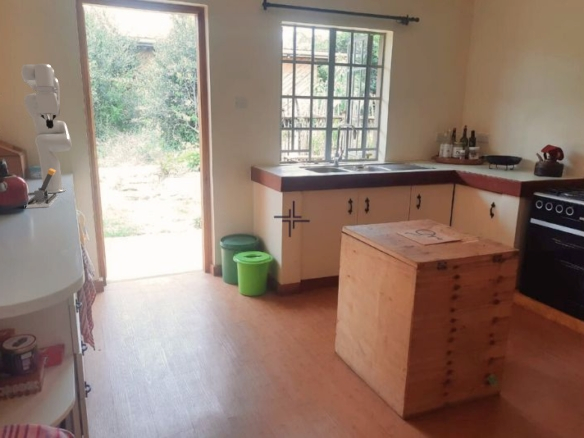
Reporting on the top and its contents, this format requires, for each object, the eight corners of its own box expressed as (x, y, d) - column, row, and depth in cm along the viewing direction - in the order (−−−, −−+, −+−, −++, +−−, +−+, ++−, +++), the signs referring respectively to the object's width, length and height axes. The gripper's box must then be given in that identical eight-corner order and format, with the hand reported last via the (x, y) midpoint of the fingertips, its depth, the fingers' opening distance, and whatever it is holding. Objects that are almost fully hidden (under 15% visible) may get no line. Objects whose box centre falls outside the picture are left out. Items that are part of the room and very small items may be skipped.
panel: (36, 199, 230) (34, 185, 228) (58, 197, 233) (56, 184, 231) (25, 208, 208) (23, 193, 206) (49, 206, 211) (47, 192, 209)
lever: (39, 192, 222) (51, 168, 221) (44, 194, 223) (56, 170, 222) (36, 194, 216) (48, 169, 215) (42, 196, 217) (54, 172, 216)
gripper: (63, 90, 228) (67, 128, 232) (30, 90, 224) (35, 128, 228) (61, 90, 221) (65, 128, 225) (26, 89, 217) (31, 128, 221)
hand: (50, 128), depth 227 cm, fingers closed
